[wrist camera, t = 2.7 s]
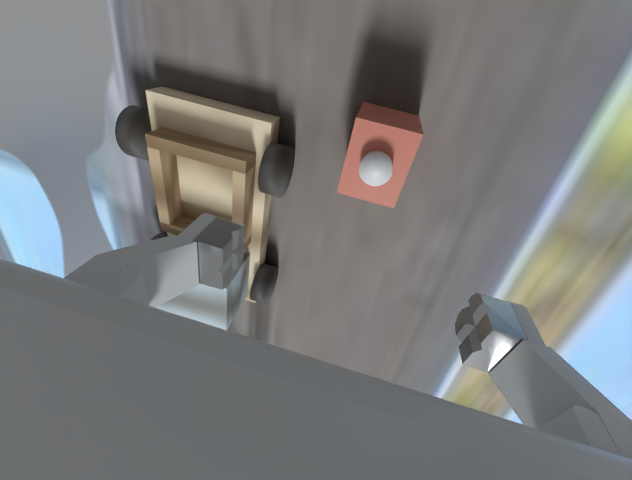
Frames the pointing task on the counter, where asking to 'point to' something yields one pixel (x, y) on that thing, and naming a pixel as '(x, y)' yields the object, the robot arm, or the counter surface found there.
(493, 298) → the robot arm
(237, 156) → the chassis
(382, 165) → the block
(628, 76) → the counter surface
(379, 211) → the counter surface
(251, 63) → the counter surface
